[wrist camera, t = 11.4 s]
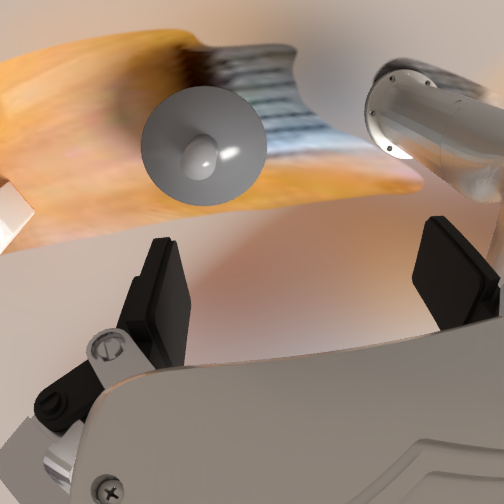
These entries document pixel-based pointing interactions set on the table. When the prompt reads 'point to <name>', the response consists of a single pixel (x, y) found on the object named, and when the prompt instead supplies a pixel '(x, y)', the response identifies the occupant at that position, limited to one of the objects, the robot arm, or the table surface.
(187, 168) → the lid
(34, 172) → the table surface
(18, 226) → the medicine bottle
